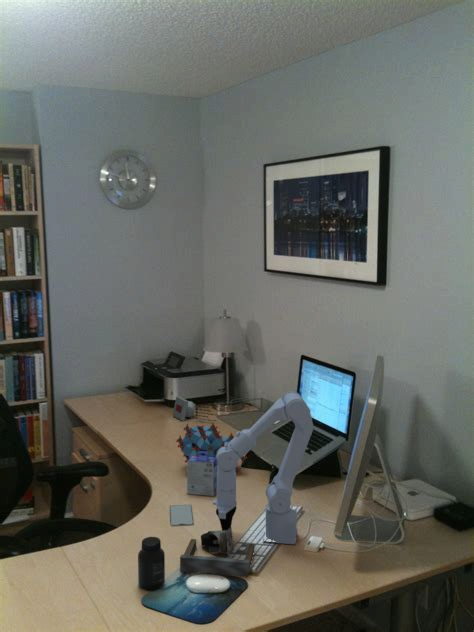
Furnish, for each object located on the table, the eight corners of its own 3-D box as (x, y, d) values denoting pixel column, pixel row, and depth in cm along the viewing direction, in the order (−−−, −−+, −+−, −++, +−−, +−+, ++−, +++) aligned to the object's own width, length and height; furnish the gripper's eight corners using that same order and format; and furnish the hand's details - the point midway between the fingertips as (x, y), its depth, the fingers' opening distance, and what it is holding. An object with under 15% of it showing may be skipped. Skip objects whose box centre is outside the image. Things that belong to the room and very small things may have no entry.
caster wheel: (206, 547, 192) (238, 545, 190) (195, 558, 181) (230, 556, 179) (204, 524, 193) (236, 522, 191) (193, 533, 182) (227, 531, 180)
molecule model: (245, 440, 256) (192, 410, 250) (253, 452, 242) (196, 420, 236) (224, 475, 256) (170, 446, 250) (230, 489, 242) (173, 458, 236)
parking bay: (254, 552, 185) (254, 538, 184) (248, 577, 172) (248, 562, 171) (191, 547, 187) (191, 534, 187) (180, 571, 174) (180, 557, 174)
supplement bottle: (165, 577, 171) (165, 534, 170) (163, 591, 164) (163, 547, 163) (140, 577, 171) (139, 534, 169) (136, 591, 164) (136, 547, 163)
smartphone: (191, 504, 216) (194, 524, 201) (191, 506, 216) (194, 526, 201) (169, 505, 215) (170, 525, 200) (169, 507, 215) (170, 527, 200)
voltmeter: (167, 419, 312) (166, 399, 311) (178, 413, 322) (178, 394, 321) (216, 426, 301) (216, 406, 300) (226, 420, 312) (226, 400, 310)
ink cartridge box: (217, 490, 228) (218, 451, 226) (214, 496, 223) (214, 456, 221) (190, 488, 230) (190, 449, 228) (186, 494, 225) (186, 454, 223)
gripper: (217, 477, 198) (217, 519, 200) (208, 496, 184) (208, 541, 186) (240, 479, 197) (240, 521, 199) (232, 498, 183) (232, 543, 185)
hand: (226, 531), depth 192 cm, fingers closed
